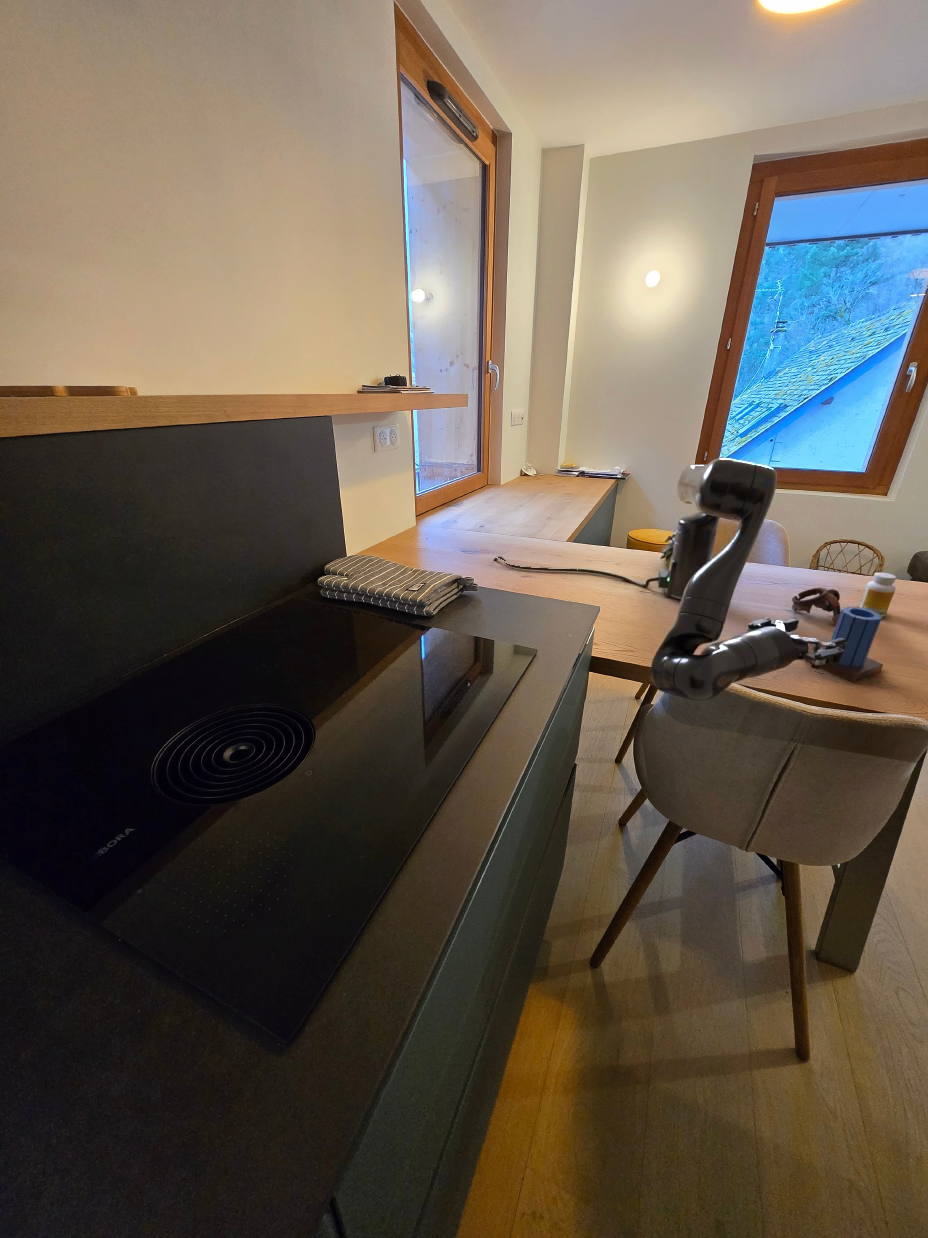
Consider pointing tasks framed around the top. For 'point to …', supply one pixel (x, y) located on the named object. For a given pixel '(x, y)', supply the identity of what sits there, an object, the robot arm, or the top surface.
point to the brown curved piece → (819, 601)
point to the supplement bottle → (879, 593)
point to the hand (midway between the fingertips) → (818, 633)
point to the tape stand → (854, 669)
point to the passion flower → (668, 550)
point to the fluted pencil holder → (856, 633)
